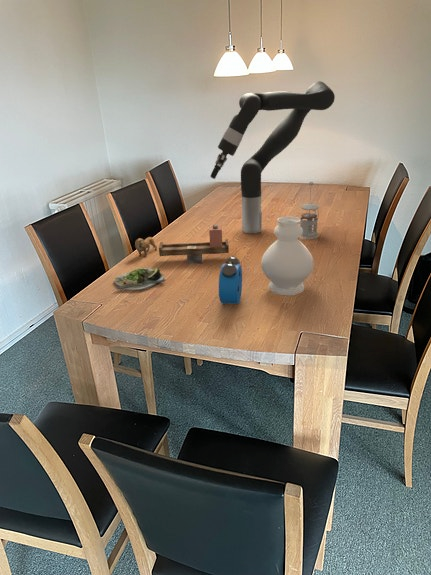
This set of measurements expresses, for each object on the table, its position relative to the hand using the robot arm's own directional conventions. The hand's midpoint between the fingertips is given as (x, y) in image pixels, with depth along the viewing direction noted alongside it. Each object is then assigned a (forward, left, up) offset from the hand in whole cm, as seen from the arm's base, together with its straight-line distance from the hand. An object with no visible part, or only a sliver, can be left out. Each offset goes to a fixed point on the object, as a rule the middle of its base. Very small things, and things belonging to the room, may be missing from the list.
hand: (212, 176), depth 185 cm
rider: (0, +20, -24) cm, 31 cm away
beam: (+9, +20, -30) cm, 37 cm away
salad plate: (+29, +38, -30) cm, 57 cm away
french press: (-44, -5, -30) cm, 54 cm away
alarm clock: (-4, +58, -30) cm, 65 cm away
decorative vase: (-24, +49, -30) cm, 62 cm away
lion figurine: (+30, +11, -30) cm, 44 cm away
